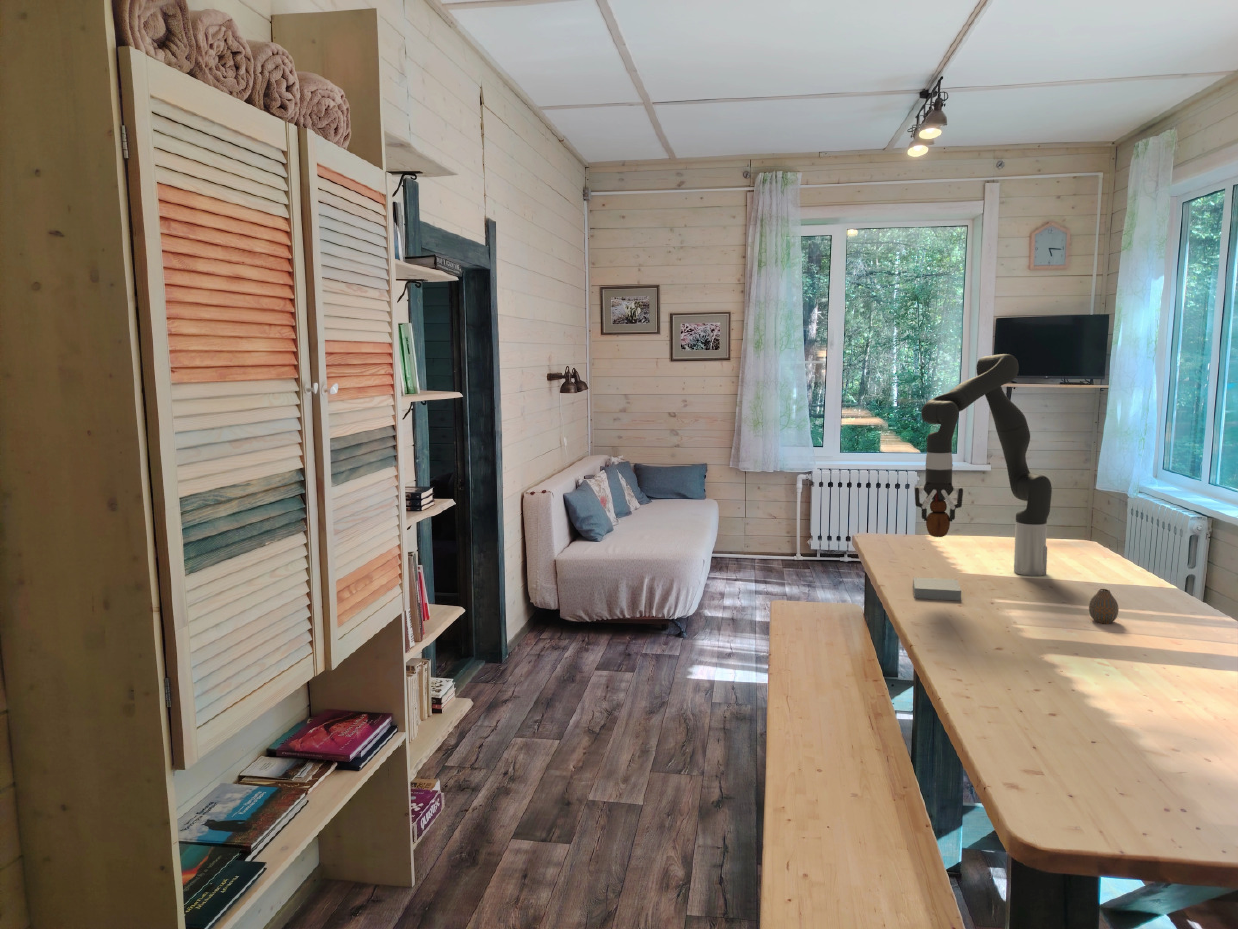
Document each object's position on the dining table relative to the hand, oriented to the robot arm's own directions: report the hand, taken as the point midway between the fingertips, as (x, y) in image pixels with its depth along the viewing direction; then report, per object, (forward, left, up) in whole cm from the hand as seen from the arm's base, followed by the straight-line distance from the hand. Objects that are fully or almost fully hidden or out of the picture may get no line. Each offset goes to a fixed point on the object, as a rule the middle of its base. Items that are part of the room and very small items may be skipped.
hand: (937, 520), depth 247 cm
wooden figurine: (0, 0, -5) cm, 5 cm away
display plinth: (0, 0, -23) cm, 23 cm away
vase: (-41, +19, -23) cm, 51 cm away
